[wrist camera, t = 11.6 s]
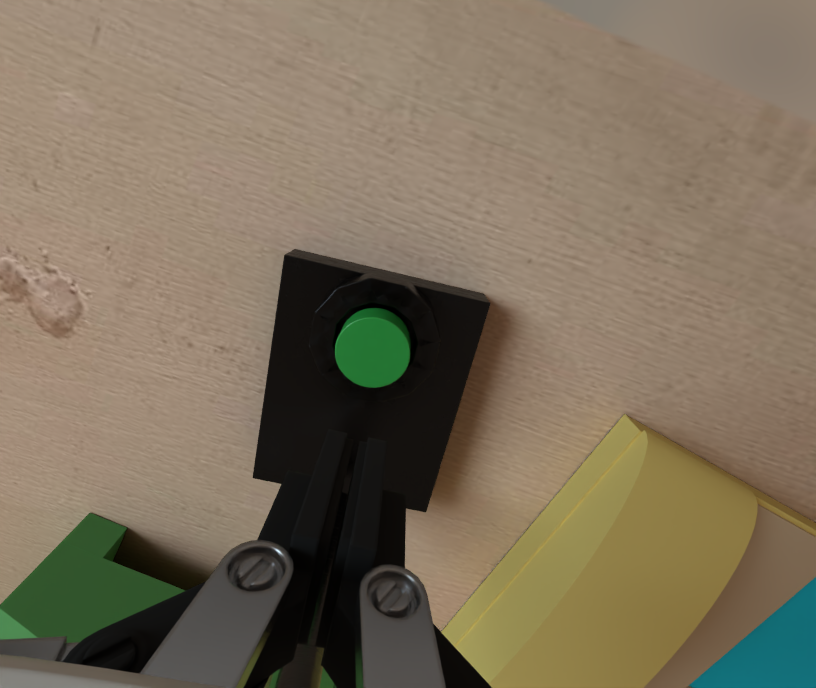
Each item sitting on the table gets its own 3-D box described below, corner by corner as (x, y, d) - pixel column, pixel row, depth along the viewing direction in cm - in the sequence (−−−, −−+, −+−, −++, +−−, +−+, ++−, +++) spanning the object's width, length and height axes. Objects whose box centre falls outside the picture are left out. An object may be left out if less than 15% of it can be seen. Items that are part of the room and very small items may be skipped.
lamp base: (295, 244, 25) (274, 255, 21) (485, 289, 26) (498, 307, 22) (263, 457, 29) (241, 497, 26) (425, 490, 30) (427, 533, 27)
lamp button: (347, 300, 22) (342, 309, 20) (417, 316, 22) (418, 326, 21) (334, 365, 23) (328, 379, 22) (401, 380, 24) (400, 395, 22)
